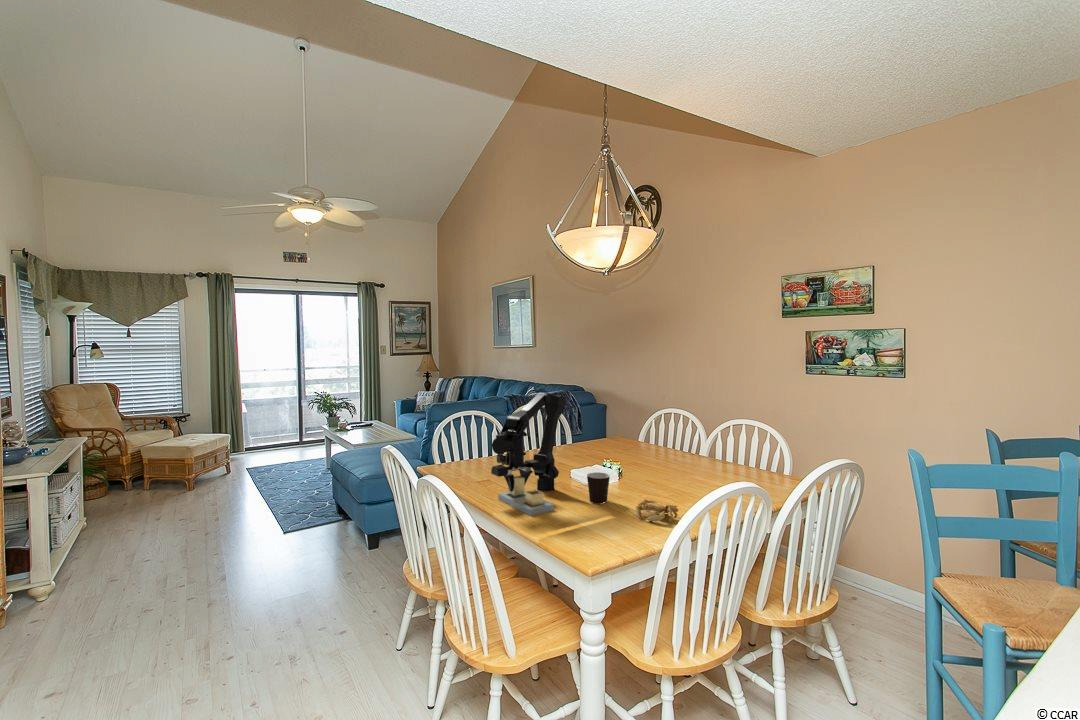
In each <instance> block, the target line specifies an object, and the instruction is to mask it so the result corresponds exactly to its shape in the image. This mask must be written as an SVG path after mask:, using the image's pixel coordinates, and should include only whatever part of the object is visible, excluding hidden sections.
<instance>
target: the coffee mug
mask: <svg viewBox="0 0 1080 720" xmlns="http://www.w3.org/2000/svg"><path fill="white" fill-rule="evenodd" d="M610 476H611V475H610V474H608V473H606V472H597V471H596V472H594V471H593V472H590V473H587V474H586V479H587V485H588V486H587V488H588V496H589V497H588V498H589V502H590V501H591V502H593V503H592V504H594V503H603V502H606V501H607V502H608V493H609V485H610V484H609V483H610ZM591 502H590V503H591ZM607 502H606V503H607Z"/></svg>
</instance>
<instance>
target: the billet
mask: <svg viewBox="0 0 1080 720" xmlns="http://www.w3.org/2000/svg"><path fill="white" fill-rule="evenodd" d="M525 486H526V485H525ZM525 486H524V477H522V476H520V474H519V475H514V480H513V490H512V492H511V491H510V490H509V487H508V486H507V487H508V490H507V492H508V493H510V494H512V495H514V496H515V495H520V494H524V493H525V492H526V491H525V489H526V488H525Z"/></svg>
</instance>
